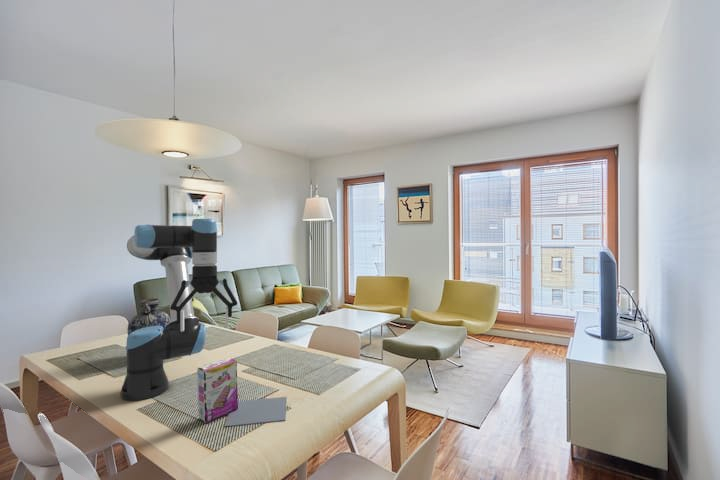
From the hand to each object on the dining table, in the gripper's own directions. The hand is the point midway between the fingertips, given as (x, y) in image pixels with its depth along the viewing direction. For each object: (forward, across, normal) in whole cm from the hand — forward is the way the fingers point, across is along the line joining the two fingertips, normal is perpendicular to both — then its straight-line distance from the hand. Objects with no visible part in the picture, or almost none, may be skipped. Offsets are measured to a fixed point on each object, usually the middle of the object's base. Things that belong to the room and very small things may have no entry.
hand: (205, 328), depth 114 cm
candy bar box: (+27, +4, -6) cm, 28 cm away
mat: (+27, +16, -8) cm, 32 cm away
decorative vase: (+27, -30, +67) cm, 78 cm away
